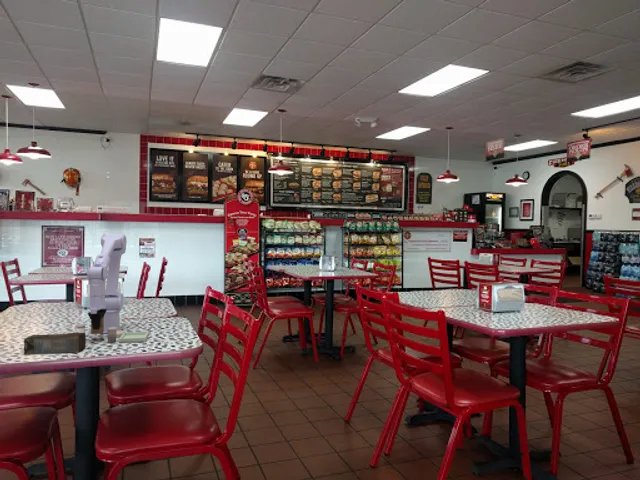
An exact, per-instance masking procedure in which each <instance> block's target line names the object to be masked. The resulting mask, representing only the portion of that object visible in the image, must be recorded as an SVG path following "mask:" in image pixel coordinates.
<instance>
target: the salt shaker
mask: <svg viewBox="0 0 640 480" xmlns="http://www.w3.org/2000/svg"><path fill="white" fill-rule="evenodd" d="M75 326H76V327H75V328H76V330H75V333H76V332H78V333H85V334H86V324H83V323H81V324H76V325H75Z"/></svg>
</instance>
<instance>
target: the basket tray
mask: <svg viewBox="0 0 640 480" xmlns="http://www.w3.org/2000/svg"><path fill="white" fill-rule="evenodd" d="M149 333H150V332H149V331H140V332H139V331H133V332H131V331H130V332H123V334H122V336H121V337H120V338H118V344H130V343H131V344H133V343H146V342H147V340H148V338H149V337H150V335H149Z"/></svg>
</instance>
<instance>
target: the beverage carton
mask: <svg viewBox="0 0 640 480" xmlns="http://www.w3.org/2000/svg"><path fill="white" fill-rule="evenodd" d="M86 339H87V337H86V332H85V333H78V332H76V331H75V332H68V333H53V334H52V333H51V334H33V335H28V336H27V337H26V338H24V339H23V354H24V355H44V354H45V355H46V354H47V355H49V354H68V353H69V354H71V353H72V354H73V353H74V354H75V353H80V352H81V351H83V350H84V349H86V347H87V346H86V342H87V341H86Z"/></svg>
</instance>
